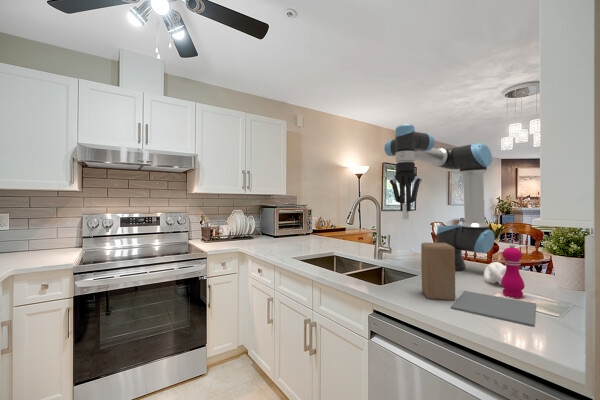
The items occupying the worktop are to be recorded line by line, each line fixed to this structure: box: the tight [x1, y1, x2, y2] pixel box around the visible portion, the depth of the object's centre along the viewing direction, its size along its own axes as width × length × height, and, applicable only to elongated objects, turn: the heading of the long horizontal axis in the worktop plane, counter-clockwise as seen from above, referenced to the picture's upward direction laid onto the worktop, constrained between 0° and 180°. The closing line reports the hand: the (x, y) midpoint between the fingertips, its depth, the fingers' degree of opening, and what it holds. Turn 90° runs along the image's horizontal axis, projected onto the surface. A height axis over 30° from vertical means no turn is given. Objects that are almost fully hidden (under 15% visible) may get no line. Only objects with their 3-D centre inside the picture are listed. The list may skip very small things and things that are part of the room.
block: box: [420, 242, 456, 301], centre depth 109 cm, size 10×10×20 cm
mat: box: [450, 290, 537, 328], centre depth 97 cm, size 22×22×1 cm
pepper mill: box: [501, 243, 525, 299], centre depth 108 cm, size 7×7×20 cm
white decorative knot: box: [483, 261, 506, 287], centre depth 123 cm, size 11×12×9 cm
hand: (405, 219), depth 117 cm, fingers closed
